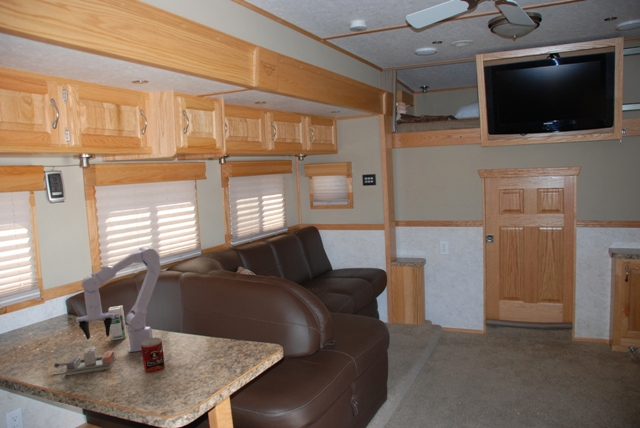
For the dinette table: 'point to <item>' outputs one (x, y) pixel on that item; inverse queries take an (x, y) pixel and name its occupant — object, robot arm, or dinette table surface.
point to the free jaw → (108, 357)
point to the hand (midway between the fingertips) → (98, 337)
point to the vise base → (83, 365)
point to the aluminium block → (90, 356)
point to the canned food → (152, 355)
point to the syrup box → (118, 323)
